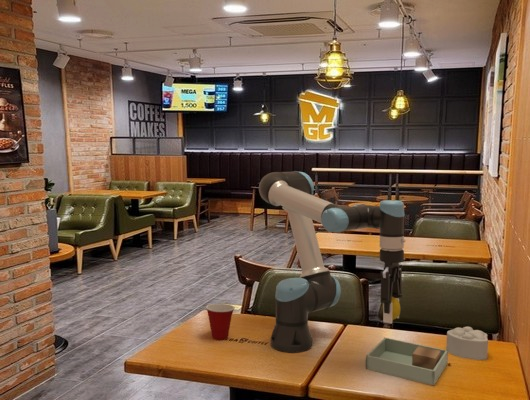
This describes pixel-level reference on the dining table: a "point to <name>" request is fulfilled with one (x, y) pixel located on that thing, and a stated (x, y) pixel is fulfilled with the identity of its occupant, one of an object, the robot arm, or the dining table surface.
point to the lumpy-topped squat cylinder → (467, 343)
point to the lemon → (395, 308)
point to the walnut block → (425, 357)
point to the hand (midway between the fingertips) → (391, 319)
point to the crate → (403, 361)
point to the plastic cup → (220, 320)
